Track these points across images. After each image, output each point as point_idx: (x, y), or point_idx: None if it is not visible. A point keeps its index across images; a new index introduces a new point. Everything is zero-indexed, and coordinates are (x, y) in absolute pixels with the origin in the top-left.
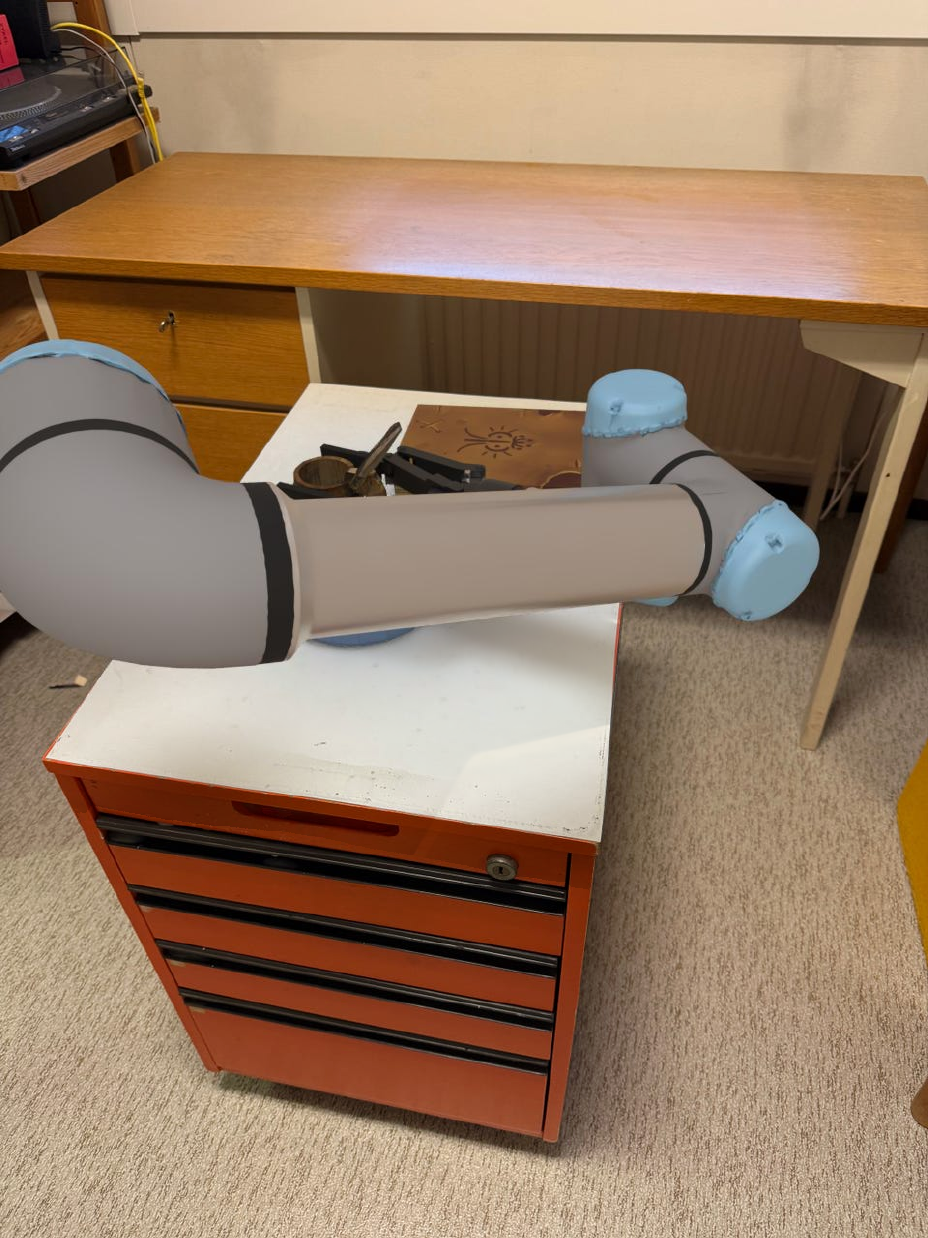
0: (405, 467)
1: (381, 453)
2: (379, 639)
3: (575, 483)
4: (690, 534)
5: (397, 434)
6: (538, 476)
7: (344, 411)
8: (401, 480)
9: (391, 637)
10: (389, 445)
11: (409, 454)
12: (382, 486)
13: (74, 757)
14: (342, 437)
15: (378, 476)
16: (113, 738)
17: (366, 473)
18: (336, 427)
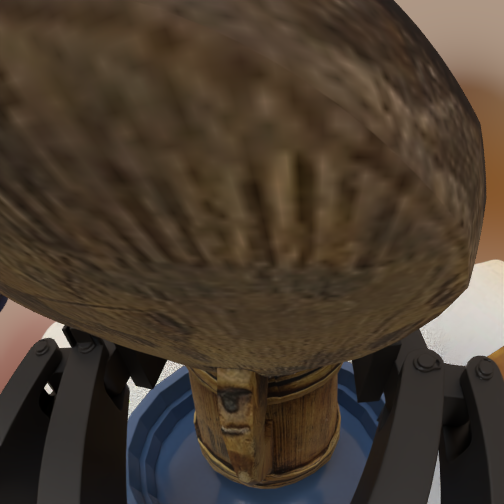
0: (397, 462)
1: (64, 310)
2: None
3: None
4: None
5: (76, 196)
6: None
7: (501, 282)
8: (368, 468)
9: None
10: (173, 321)
11: (476, 411)
12: (236, 443)
13: (50, 326)
14: (484, 298)
15: (248, 408)
16: (58, 337)
17: (151, 353)
18: (487, 288)
